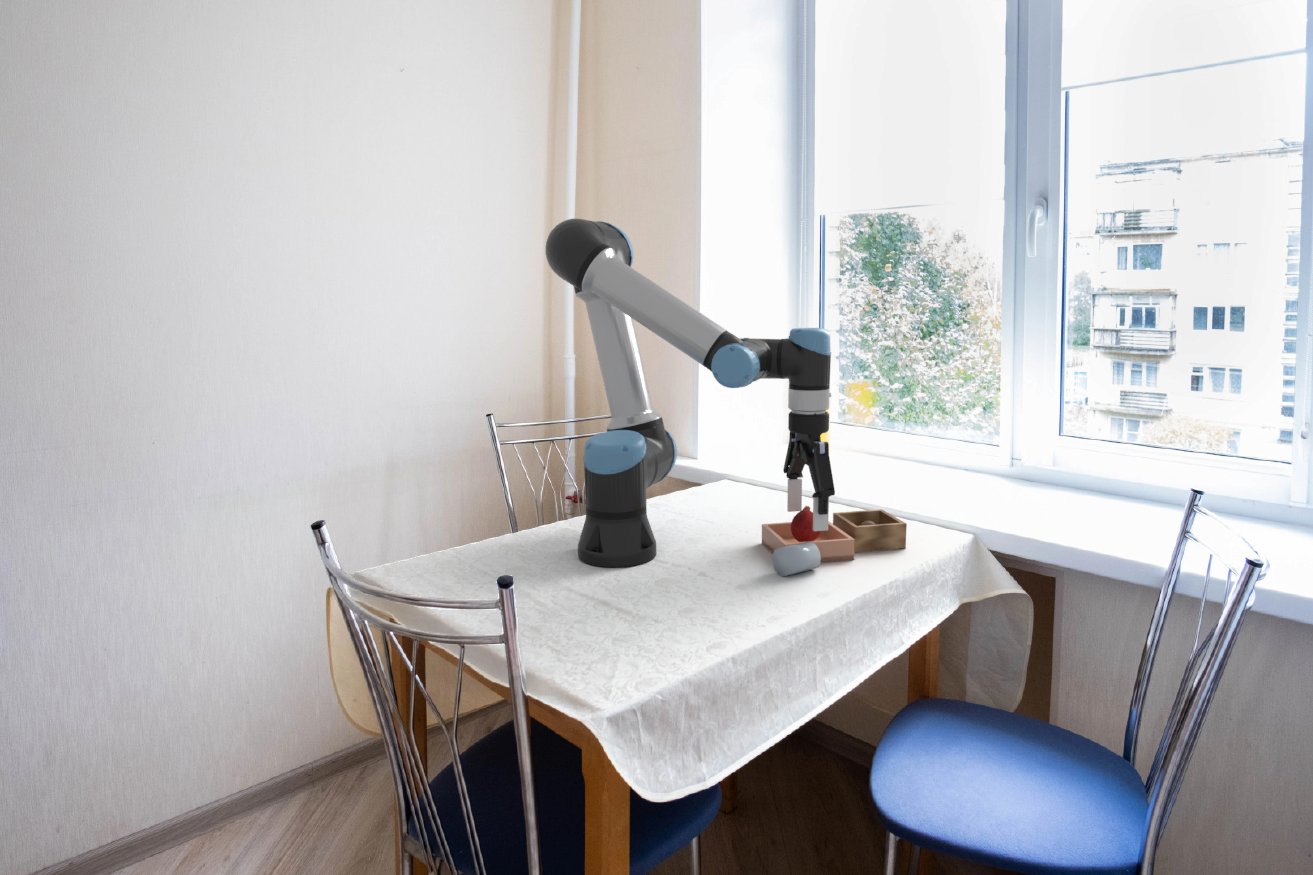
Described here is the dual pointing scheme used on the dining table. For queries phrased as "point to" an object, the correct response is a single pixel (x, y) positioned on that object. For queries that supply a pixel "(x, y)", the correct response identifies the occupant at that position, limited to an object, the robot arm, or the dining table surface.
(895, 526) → the crate
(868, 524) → the chestnut
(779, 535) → the tray
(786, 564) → the pale blue capsule
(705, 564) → the dining table surface
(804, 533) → the onion
